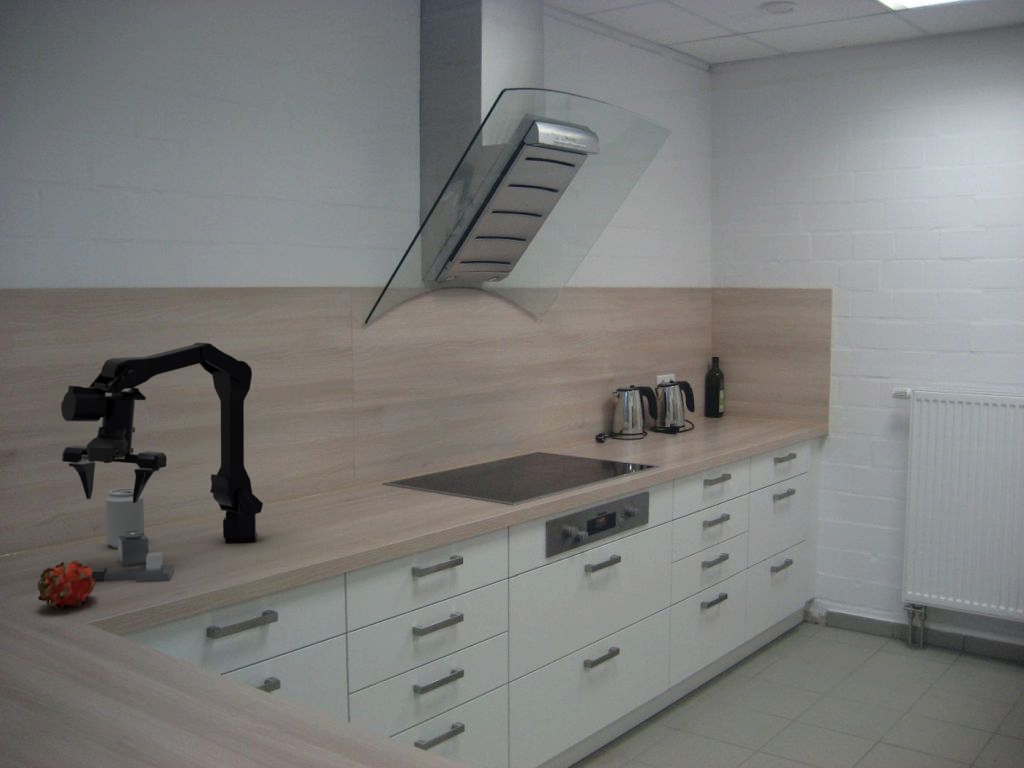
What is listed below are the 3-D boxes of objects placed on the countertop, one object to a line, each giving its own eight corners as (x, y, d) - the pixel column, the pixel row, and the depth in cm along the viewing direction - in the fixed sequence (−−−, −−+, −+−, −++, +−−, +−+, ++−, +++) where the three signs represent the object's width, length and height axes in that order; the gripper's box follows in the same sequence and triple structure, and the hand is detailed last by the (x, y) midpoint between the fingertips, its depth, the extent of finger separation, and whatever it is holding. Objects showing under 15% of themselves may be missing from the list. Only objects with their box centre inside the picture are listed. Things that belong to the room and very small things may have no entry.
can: (151, 542, 219) (150, 487, 218) (130, 550, 212) (128, 494, 211) (122, 539, 221) (120, 485, 220) (99, 547, 214) (97, 492, 213)
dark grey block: (144, 557, 207) (143, 528, 206) (148, 562, 203) (148, 533, 202) (118, 560, 204) (117, 531, 204) (122, 566, 200) (121, 536, 200)
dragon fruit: (36, 625, 170) (87, 614, 181) (71, 599, 168) (120, 589, 179) (15, 581, 172) (67, 573, 183) (50, 555, 170) (100, 548, 181)
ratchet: (173, 572, 196) (172, 549, 196) (168, 581, 191) (168, 557, 190) (64, 577, 193) (63, 554, 192) (56, 586, 187) (55, 562, 186)
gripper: (51, 420, 190) (45, 502, 190) (149, 428, 190) (142, 510, 190) (78, 417, 201) (72, 495, 202) (170, 425, 201) (164, 502, 201)
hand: (111, 500), depth 198 cm, fingers open, 9 cm apart
